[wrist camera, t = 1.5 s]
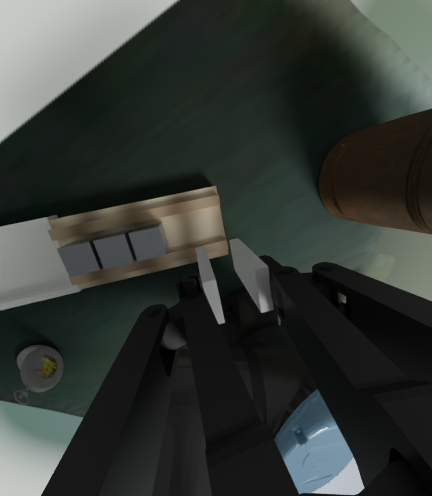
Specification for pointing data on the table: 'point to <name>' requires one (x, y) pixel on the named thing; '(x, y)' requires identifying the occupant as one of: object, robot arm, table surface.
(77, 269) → the grey cubic block
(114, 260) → the grey square block
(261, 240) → the table surface
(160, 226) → the gray cube
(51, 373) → the pocket watch
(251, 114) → the table surface
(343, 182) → the wooden container
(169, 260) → the slot board
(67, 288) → the tray
